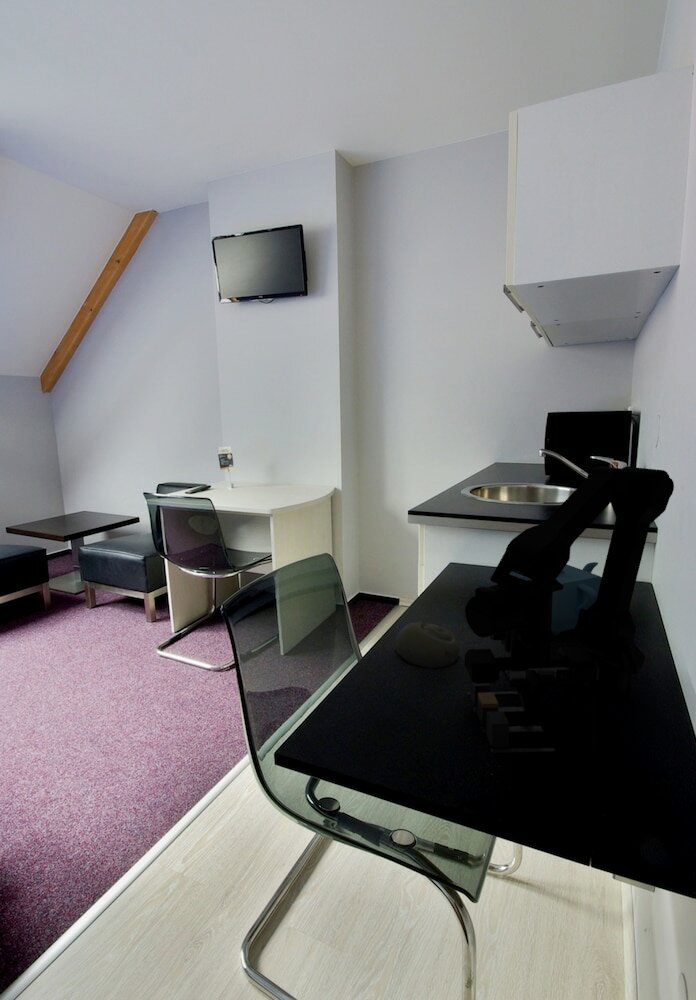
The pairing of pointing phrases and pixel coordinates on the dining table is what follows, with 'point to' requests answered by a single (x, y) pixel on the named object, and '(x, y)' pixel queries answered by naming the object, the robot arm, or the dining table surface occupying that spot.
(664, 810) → the dining table surface
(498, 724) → the handle
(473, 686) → the handle
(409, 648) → the seashell
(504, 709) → the panel
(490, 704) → the handle
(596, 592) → the teakettle
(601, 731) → the dining table surface
